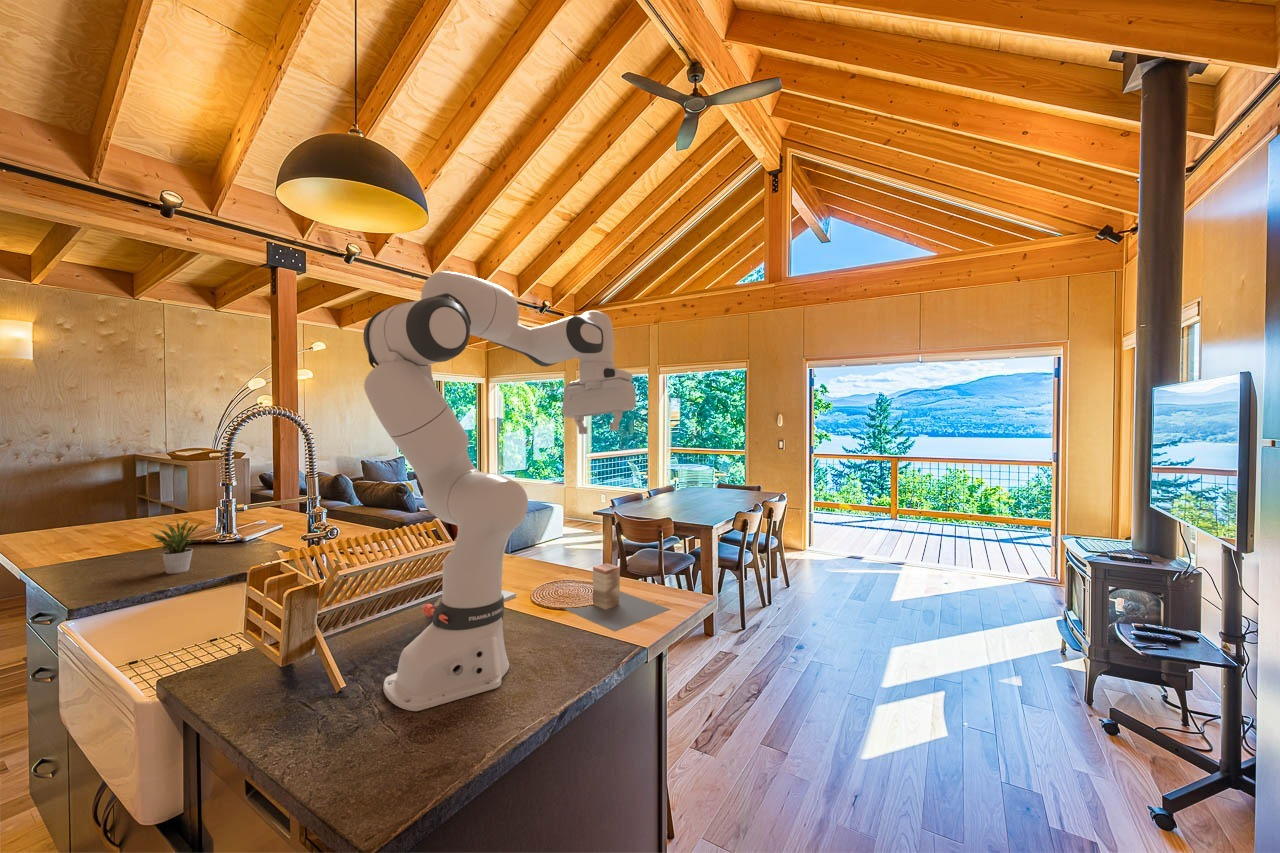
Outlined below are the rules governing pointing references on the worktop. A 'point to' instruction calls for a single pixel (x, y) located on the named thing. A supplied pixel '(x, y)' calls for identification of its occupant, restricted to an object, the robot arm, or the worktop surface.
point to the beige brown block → (606, 585)
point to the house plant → (177, 548)
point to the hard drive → (508, 595)
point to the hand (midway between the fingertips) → (598, 432)
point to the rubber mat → (620, 612)
